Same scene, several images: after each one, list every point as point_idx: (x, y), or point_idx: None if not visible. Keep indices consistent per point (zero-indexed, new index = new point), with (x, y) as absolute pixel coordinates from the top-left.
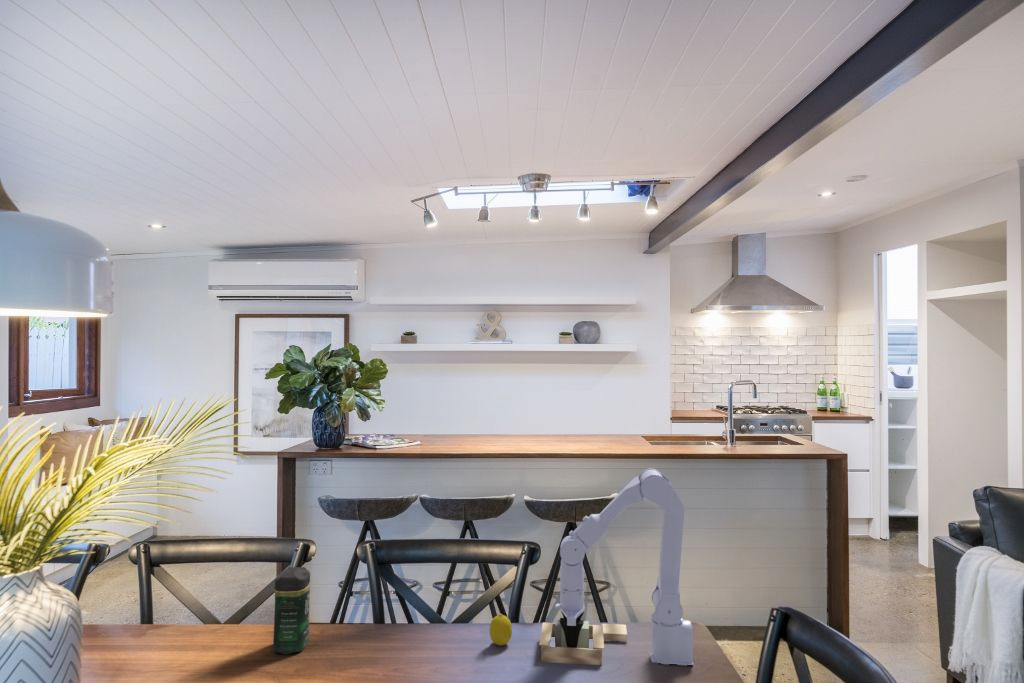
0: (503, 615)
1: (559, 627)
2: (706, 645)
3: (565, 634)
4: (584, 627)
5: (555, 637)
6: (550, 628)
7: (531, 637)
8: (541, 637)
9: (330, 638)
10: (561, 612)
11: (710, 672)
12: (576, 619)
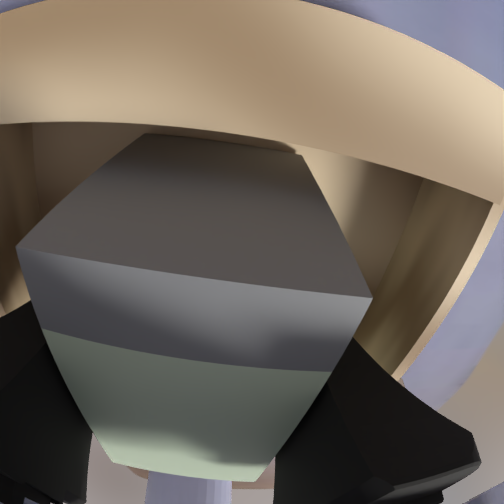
0: None
1: (34, 304)
2: (258, 487)
3: (21, 311)
4: (124, 456)
5: (92, 179)
6: (390, 145)
7: (473, 22)
8: (92, 4)
9: None
10: (373, 470)
11: (137, 470)
12: (285, 459)
